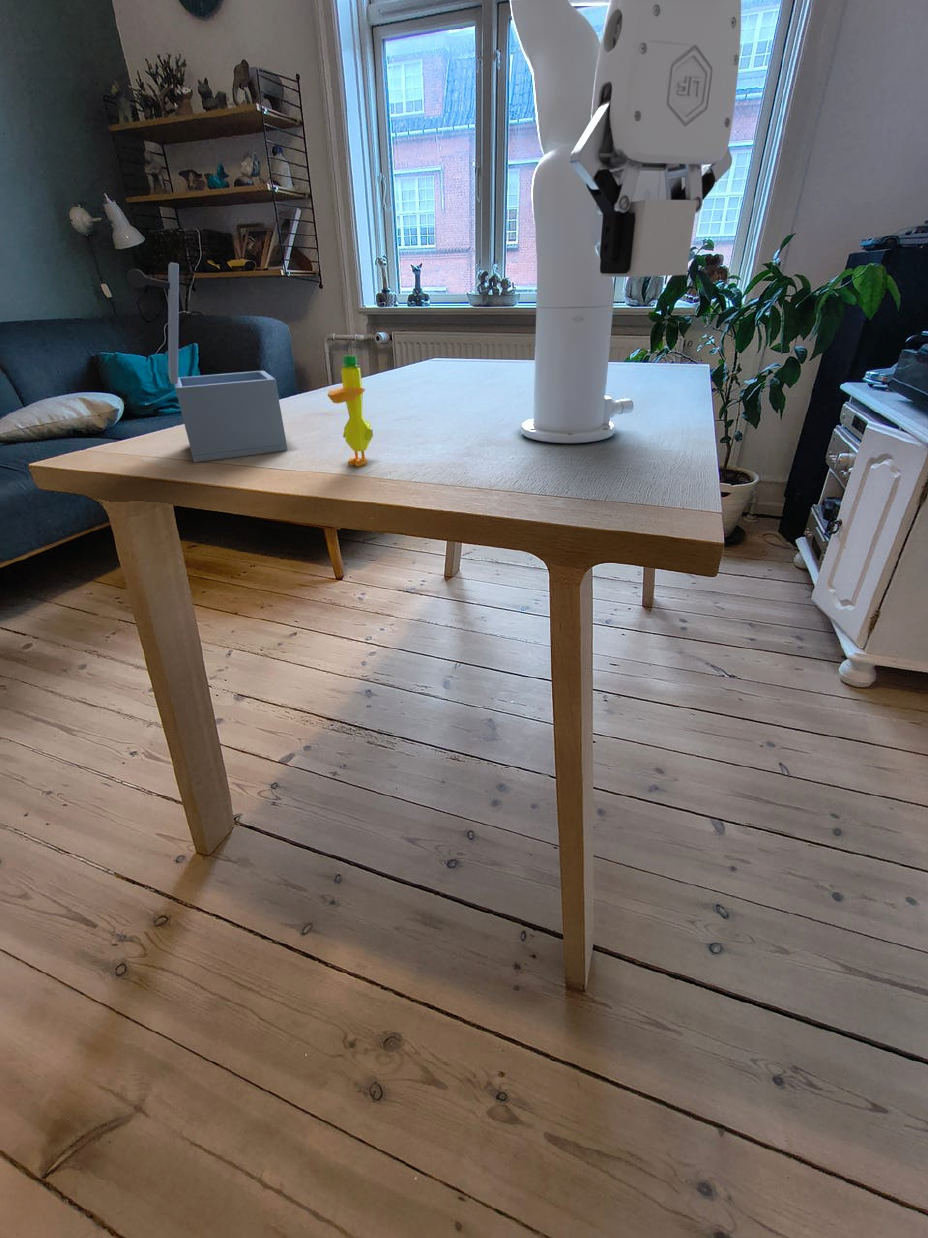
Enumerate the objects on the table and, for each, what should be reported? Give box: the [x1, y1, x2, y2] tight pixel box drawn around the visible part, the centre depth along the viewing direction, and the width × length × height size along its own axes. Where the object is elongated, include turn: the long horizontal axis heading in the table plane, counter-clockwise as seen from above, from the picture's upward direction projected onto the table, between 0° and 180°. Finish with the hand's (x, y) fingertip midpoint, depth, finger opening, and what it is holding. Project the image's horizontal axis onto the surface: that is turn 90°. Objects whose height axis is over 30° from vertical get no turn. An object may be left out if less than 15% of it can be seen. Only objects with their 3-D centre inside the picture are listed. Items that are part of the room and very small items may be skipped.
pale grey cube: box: [600, 200, 697, 278], centre depth 48 cm, size 5×5×5 cm
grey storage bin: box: [173, 370, 288, 463], centre depth 78 cm, size 12×10×9 cm
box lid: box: [126, 262, 180, 385], centre depth 70 cm, size 12×10×5 cm
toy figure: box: [326, 355, 374, 467], centre depth 68 cm, size 7×4×12 cm, turn 153°
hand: (642, 269), depth 49 cm, fingers closed on pale grey cube, 5 cm apart
